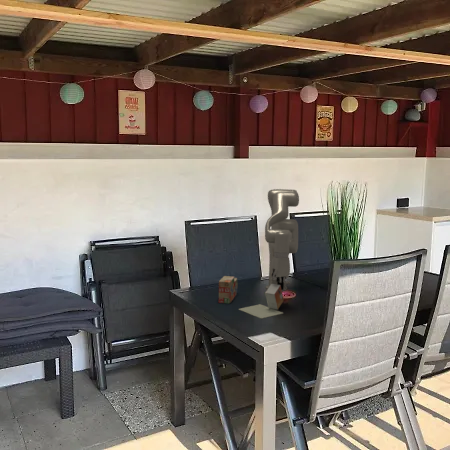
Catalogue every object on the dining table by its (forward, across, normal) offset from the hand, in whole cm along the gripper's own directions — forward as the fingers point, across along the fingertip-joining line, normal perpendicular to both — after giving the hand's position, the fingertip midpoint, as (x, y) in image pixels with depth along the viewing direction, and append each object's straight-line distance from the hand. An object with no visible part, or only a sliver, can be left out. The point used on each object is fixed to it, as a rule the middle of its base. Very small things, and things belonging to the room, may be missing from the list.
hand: (280, 289), depth 264 cm
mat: (+10, +12, -1) cm, 16 cm away
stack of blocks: (+10, +11, -30) cm, 34 cm away
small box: (+8, +2, -1) cm, 8 cm away
